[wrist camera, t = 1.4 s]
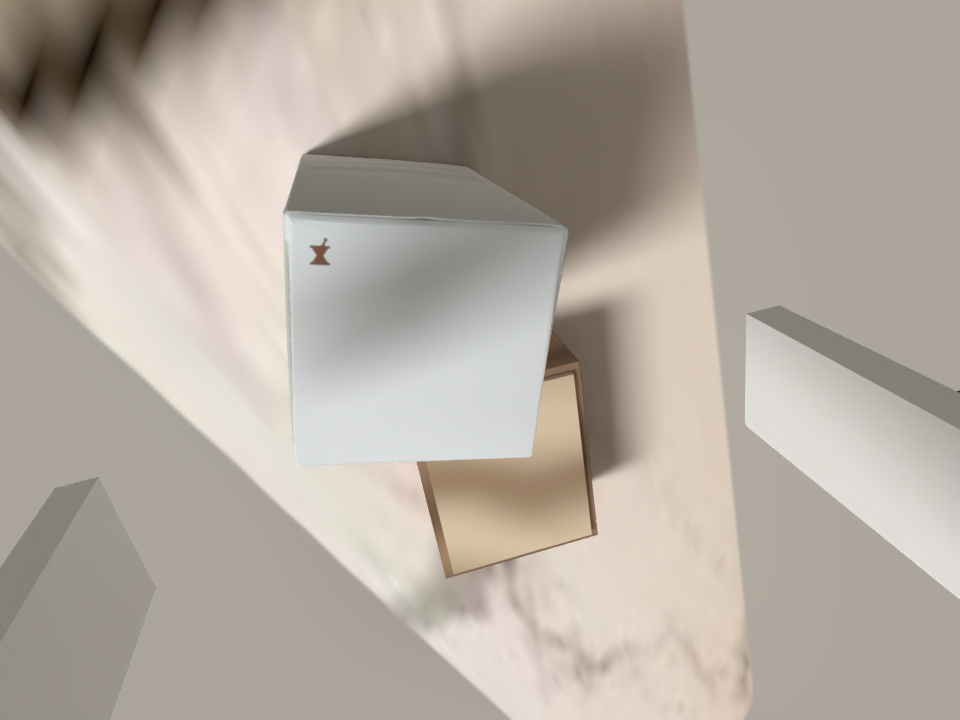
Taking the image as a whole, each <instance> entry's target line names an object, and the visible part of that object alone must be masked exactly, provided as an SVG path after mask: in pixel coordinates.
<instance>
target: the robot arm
mask: <svg viewBox="0 0 960 720" xmlns="http://www.w3.org/2000/svg"><path fill="white" fill-rule="evenodd" d="M746 317H747V319H746V388H745V389H746V390H745V425H746V426H747V427H748V428H750V429H751V430H752V431H753V432H754V433H756V434H757V435H758V436H759V437H761V438H762V439H763V440H764V441H765V442H767V443H768V444H769V445H770V446H772V447H773V448H774V449H775V450H777V451H778V452H779V453H780V454H781V455H783V456H784V457H785V458H787V459H788V460H789V461H790V462H791V463H793V464H794V465H795V466H796V467H797V468H799V469H800V470H801V471H802V472H804V473H805V474H806V475H807V476H809V477H810V478H811V479H812V480H814V481H815V482H816V483H817V484H819V485H820V486H821V487H822V488H823V489H825V490H826V491H827V492H828V493H830V494H831V495H832V496H833V497H835V498H836V499H837V500H838V501H839V502H841V503H842V504H843V505H844V506H846V507H847V508H848V509H849V510H851V511H852V512H853V513H854V514H855V515H857V516H858V517H859V518H860V519H862V520H863V521H864V522H865V523H866V524H868V525H869V526H870V527H871V528H873V529H874V530H875V531H876V532H877V533H879V534H880V535H881V536H882V537H884V538H885V539H886V540H887V541H889V542H890V543H891V544H892V545H893V546H895V547H896V548H897V549H898V550H900V551H901V552H902V553H903V554H905V555H906V556H907V557H908V558H910V559H911V560H912V561H913V562H914V563H916V564H917V565H918V566H920V567H921V568H922V569H923V570H924V571H926V572H927V573H928V574H929V575H931V576H932V577H933V578H934V579H935V580H937V581H938V582H939V583H941V585H943V586H944V587H945V588H946V589H948V590H949V591H950V592H951V593H953V594H954V595H955V596H956V597H958V598H959V599H960V391H955V390H953V389H951V388H949V387H946V386H944V385H942V384H940V383H938V382H936V381H934V380H932V379H930V378H928V377H926V376H924V375H921V374H919V373H917V372H915V371H913V370H911V369H909V368H907V367H905V366H903V365H901V364H899V363H897V362H895V361H893V360H891V359H889V358H887V357H884V356H883V355H880V354H878V353H876V352H874V351H872V350H870V349H868V348H866V347H864V346H862V345H860V344H858V343H856V342H854V341H852V340H849V339H847V338H845V337H843V336H841V335H839V334H837V333H835V332H833V331H831V330H829V329H827V328H825V327H822V326H821V325H818V324H816V323H814V322H812V321H810V320H808V319H806V318H804V317H802V316H800V315H798V314H795V313H794V312H791V311H790V310H788V309H786V308H783V307H781V306H776V307H772V308H768V309H764V310H760V311H756V312H752V313H748V314H747V316H746ZM155 588H156V587H155V585H154V583H153V581H152V579H151V577H150V575H149V574H148V572H147V570H146V568H145V566H144V564H143V562H142V560H141V558H140V556H139V554H138V552H137V550H136V548H135V547H134V545H133V543H132V541H131V539H130V537H129V535H128V533H127V531H126V529H125V527H124V525H123V523H122V521H121V520H120V518H119V516H118V514H117V512H116V510H115V508H114V506H113V504H112V502H111V500H110V498H109V496H108V494H107V493H106V491H105V489H104V487H103V485H102V483H101V481H100V479H99V477H97V478H93V479H89V480H85V481H81V482H77V483H73V484H69V485H65V486H61V487H57V488H55V489H54V490H53V492H52V493H51V495H50V496H49V498H48V499H47V501H46V502H45V504H44V505H43V506H42V508H41V509H40V511H39V512H38V514H37V515H36V517H35V518H34V519H33V521H32V522H31V524H30V526H29V527H28V528H27V530H26V531H25V533H24V534H23V535H22V537H21V538H20V540H19V541H18V543H17V544H16V546H15V547H14V549H13V550H12V551H11V553H10V554H9V556H8V557H7V559H6V560H5V562H4V563H3V565H2V566H1V568H0V720H110V717H111V715H112V711H113V709H114V706H115V703H116V700H117V697H118V694H119V692H120V689H121V686H122V683H123V680H124V677H125V674H126V672H127V668H128V666H129V663H130V660H131V657H132V654H133V651H134V649H135V646H136V643H137V640H138V637H139V634H140V631H141V628H142V626H143V623H144V620H145V617H146V614H147V611H148V608H149V605H150V602H151V600H152V597H153V594H154V591H155Z"/></svg>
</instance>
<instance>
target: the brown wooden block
mask: <svg viewBox="0 0 960 720" xmlns="http://www.w3.org/2000/svg"><path fill="white" fill-rule="evenodd" d="M417 465H418V469H419V473H420V477H421V481H422V485H423V489H424V493H425V497H426V501H427V505H428V509H429V513H430V517H431V520H432V524H433V528H434V532H435V536H436V540H437V544H438V548H439V552H440V556H441V560H442V564H443V568H444V572H445V576H446V579H447V578H450V577H453V576H457V575H460V574H464V573H467V572H471V571H474V570H478V569H481V568H485V567H488V566H491V565H495V564H498V563H502V562H505V561H509V560H512V559H516V558H519V557H522V556H526V555H529V554H533V553H536V552H540V551H543V550H547V549H550V548H553V547H557V546H560V545H564V544H567V543H571V542H574V541H578V540H581V539H585V538H588V537H591V536H595V535H598V533H597V523H596V514H595V505H594V496H593V487H592V477H591V468H590V459H589V450H588V440H587V431H586V422H585V413H584V404H583V394H582V385H581V376H580V367H579V361H578V360H577V359H576V357H575V356H574V355H573V354H572V353H571V352H570V351H569V350H568V349H567V347H566V346H565V345H564V344H563V343H562V342H561V341H560V340H559V339H558V337H557V336H556V335H555V334H554V333H553V332H552V334H551V339H550V345H549V351H548V357H547V362H546V368H545V374H544V381H543V388H542V394H541V401H540V408H539V415H538V422H537V429H536V436H535V443H534V450H533V455H532V456H531V457H528V458H499V459H468V460H443V461H418V462H417Z"/></svg>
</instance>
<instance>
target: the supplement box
mask: <svg viewBox="0 0 960 720" xmlns="http://www.w3.org/2000/svg"><path fill="white" fill-rule="evenodd" d="M283 233H284V269H285V299H286V329H287V348H288V368H289V386H290V401H291V416H292V431H293V449H294V463H295V465H296V466H321V465H344V464H368V463H393V462H418V461H443V460H468V459H499V458H528V457H531V456H532V455H533V450H534V443H535V436H536V429H537V422H538V415H539V408H540V401H541V394H542V388H543V381H544V374H545V368H546V362H547V357H548V351H549V345H550V339H551V334H552V328H553V322H554V316H555V310H556V305H557V299H558V293H559V288H560V282H561V276H562V270H563V264H564V258H565V253H566V247H567V242H568V236H569V230H568V228H567V227H566V226H564V225H563V224H561V223H560V222H558V221H557V220H555V219H553V218H552V217H550V216H549V215H547V214H546V213H544V212H542V211H541V210H539V209H537V208H536V207H534V206H532V205H531V204H529V203H527V202H525V201H524V200H522V199H520V198H519V197H517V196H515V195H513V194H512V193H510V192H508V191H506V190H505V189H503V188H501V187H499V186H498V185H496V184H494V183H493V182H491V181H489V180H488V179H486V178H484V177H483V176H481V175H480V174H478V173H477V172H475V171H473V170H471V169H470V168H469V167H466V166H459V165H449V164H440V163H428V162H415V161H403V160H390V159H374V158H358V157H343V156H329V155H312V154H303V155H302V156H301V159H300V162H299V166H298V169H297V172H296V175H295V178H294V181H293V184H292V188H291V191H290V194H289V197H288V200H287V203H286V206H285V209H284V211H283Z"/></svg>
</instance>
